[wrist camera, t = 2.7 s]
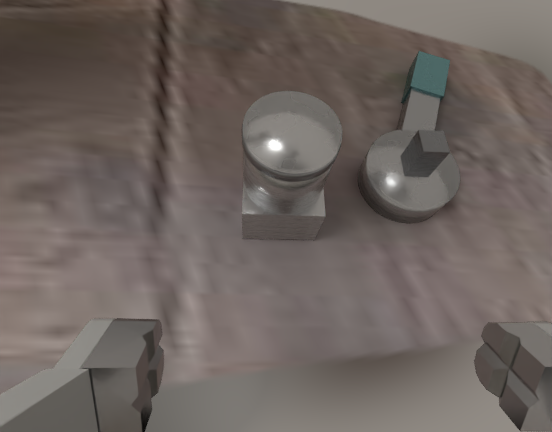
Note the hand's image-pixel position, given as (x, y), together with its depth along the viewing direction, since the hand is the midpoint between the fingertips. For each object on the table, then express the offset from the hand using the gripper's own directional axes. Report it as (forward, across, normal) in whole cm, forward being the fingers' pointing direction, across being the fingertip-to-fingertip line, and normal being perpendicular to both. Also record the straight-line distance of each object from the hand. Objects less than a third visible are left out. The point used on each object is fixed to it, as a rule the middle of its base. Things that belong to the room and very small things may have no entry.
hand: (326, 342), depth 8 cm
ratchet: (+23, -12, -3) cm, 26 cm away
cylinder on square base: (+17, 0, +2) cm, 18 cm away
